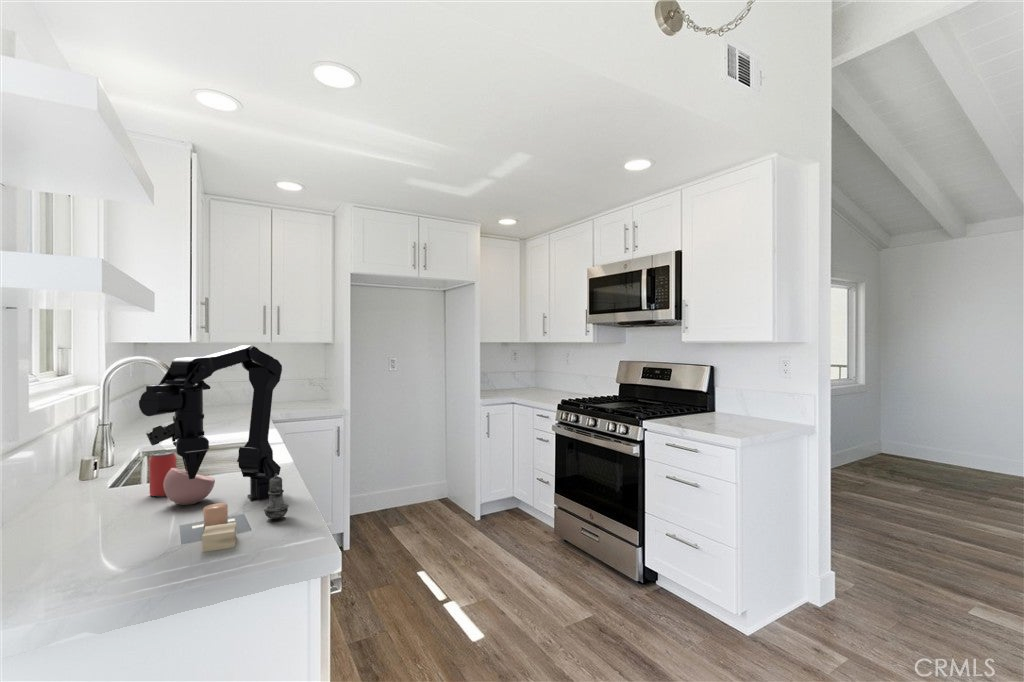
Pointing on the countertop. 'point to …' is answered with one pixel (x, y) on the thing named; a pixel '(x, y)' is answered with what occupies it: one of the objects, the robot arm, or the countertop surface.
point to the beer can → (160, 471)
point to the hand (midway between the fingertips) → (189, 474)
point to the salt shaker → (276, 502)
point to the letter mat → (195, 530)
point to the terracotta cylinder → (215, 514)
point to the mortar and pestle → (187, 487)
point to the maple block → (219, 537)
